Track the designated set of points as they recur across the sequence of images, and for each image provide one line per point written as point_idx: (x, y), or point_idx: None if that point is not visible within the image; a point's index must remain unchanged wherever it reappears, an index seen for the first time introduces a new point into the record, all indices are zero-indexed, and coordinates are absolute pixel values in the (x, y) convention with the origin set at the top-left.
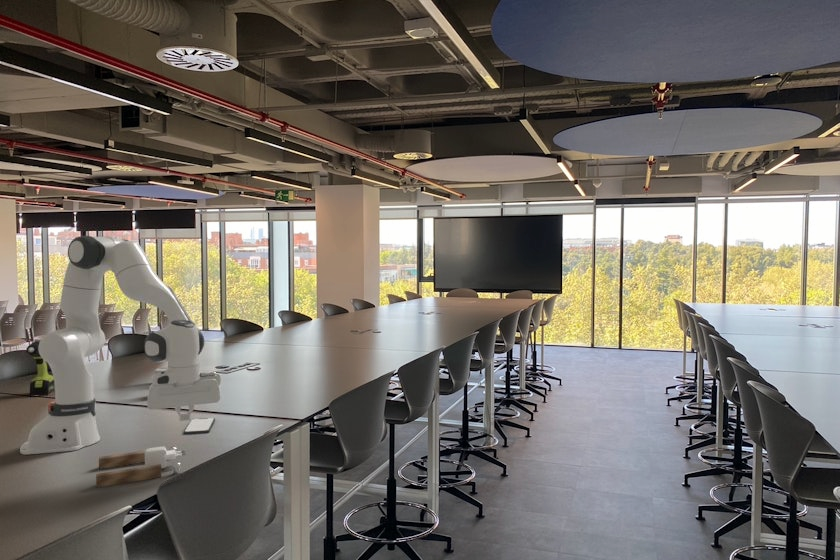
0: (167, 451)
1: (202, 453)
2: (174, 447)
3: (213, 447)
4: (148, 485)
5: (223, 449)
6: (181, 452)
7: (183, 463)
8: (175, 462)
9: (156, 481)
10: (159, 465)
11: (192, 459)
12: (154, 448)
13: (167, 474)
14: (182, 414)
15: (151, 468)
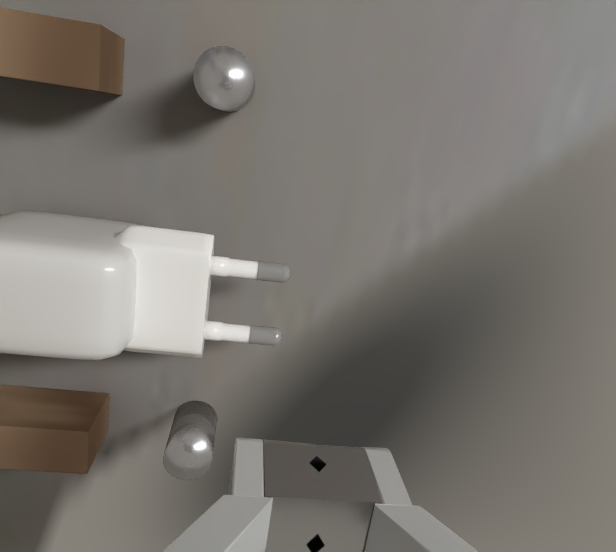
0: (146, 279)
1: (435, 128)
2: (238, 80)
3: (551, 27)
4: (30, 513)
5: (584, 129)
6: (259, 277)
7: None
8: (183, 448)
9: (75, 480)
10: (76, 450)
11: (339, 221)
12: (18, 297)
13: (145, 408)
14: (282, 524)
15: (24, 466)
